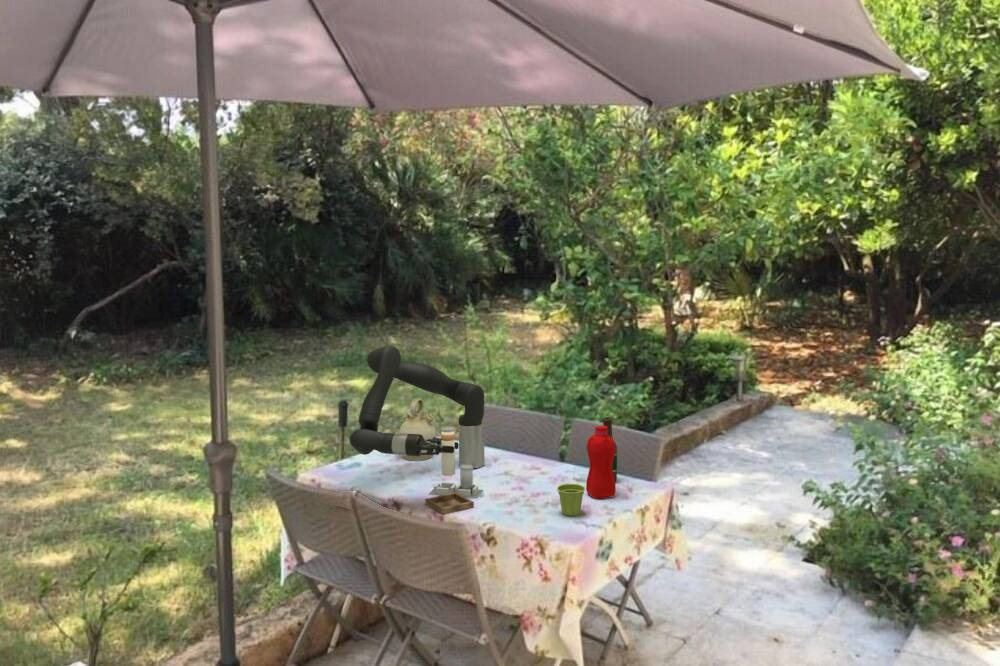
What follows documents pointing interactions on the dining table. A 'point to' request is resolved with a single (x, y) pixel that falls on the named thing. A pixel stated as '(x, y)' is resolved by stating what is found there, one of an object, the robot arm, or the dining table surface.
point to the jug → (418, 425)
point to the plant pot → (571, 498)
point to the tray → (449, 503)
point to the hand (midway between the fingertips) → (455, 447)
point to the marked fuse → (448, 458)
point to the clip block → (455, 490)
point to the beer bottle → (608, 423)
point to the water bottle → (601, 464)
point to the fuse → (466, 477)
